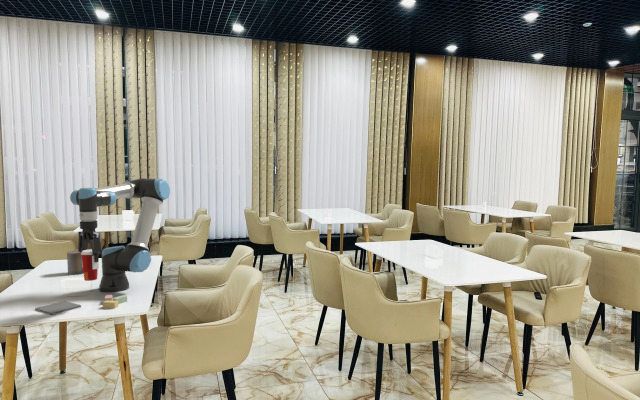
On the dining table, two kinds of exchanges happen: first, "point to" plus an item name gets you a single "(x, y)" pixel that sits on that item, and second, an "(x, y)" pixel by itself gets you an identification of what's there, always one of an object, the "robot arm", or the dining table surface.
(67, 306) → the slate mat
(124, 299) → the sage brick
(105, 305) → the ochre brick
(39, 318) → the dining table surface
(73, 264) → the pillar candle
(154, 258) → the dining table surface
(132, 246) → the robot arm
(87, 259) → the paper cup
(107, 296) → the rose brick
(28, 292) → the dining table surface
